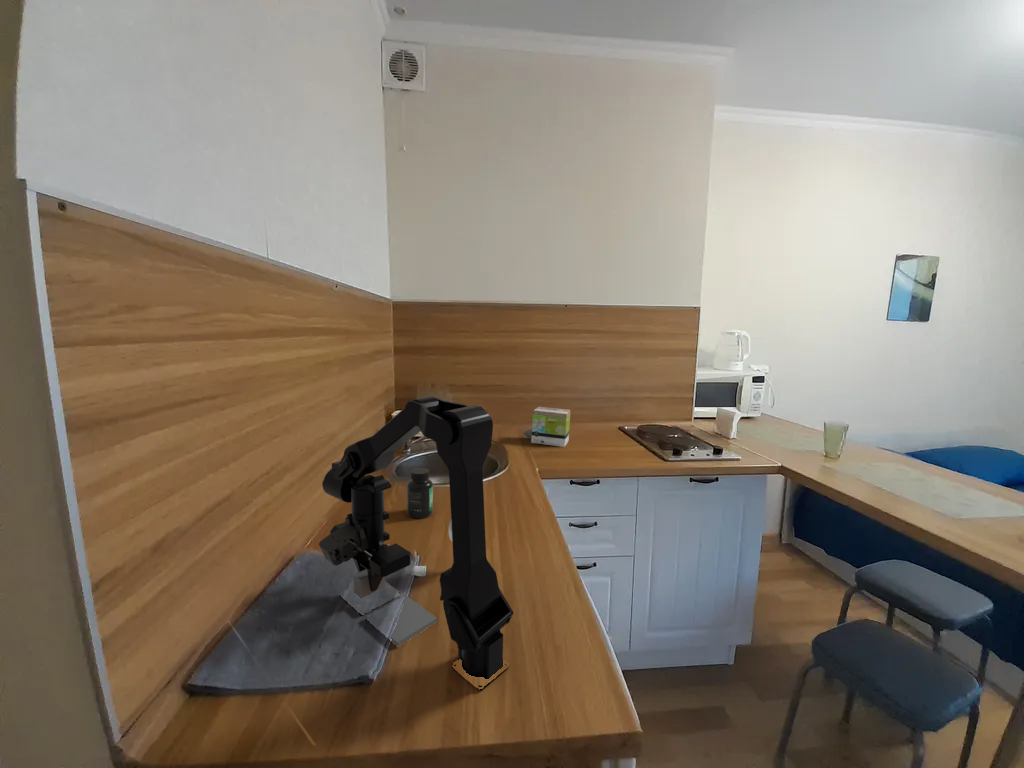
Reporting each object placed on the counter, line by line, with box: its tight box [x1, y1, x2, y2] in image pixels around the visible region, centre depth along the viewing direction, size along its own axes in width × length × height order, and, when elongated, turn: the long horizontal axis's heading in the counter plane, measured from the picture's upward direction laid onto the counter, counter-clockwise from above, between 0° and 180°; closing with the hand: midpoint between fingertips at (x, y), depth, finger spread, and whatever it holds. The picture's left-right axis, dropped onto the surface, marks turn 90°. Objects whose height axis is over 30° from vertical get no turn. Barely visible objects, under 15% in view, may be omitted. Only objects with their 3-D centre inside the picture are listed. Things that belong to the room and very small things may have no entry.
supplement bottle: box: [406, 467, 434, 520], centre depth 118 cm, size 7×7×12 cm
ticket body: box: [391, 595, 438, 646], centre depth 76 cm, size 9×8×1 cm
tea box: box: [530, 406, 571, 448], centre depth 191 cm, size 15×10×15 cm
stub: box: [353, 569, 386, 598], centre depth 83 cm, size 8×8×5 cm
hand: (369, 587), depth 83 cm, fingers closed on stub, 2 cm apart
